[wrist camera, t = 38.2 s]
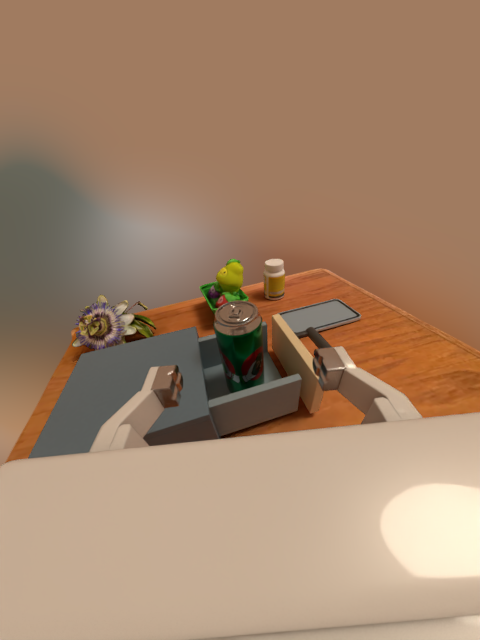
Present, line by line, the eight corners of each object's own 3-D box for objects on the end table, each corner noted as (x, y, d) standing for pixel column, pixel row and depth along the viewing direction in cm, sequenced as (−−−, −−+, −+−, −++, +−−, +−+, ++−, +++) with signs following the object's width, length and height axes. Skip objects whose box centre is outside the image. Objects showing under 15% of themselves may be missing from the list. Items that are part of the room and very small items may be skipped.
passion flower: (126, 374, 40) (53, 355, 32) (133, 333, 48) (75, 309, 40) (161, 346, 37) (88, 316, 29) (163, 306, 44) (106, 273, 36)
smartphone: (363, 316, 38) (292, 336, 35) (362, 320, 38) (292, 340, 36) (337, 298, 44) (274, 313, 41) (336, 301, 44) (274, 317, 41)
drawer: (302, 339, 34) (306, 306, 30) (351, 400, 25) (366, 364, 21) (199, 368, 32) (188, 336, 28) (210, 448, 22) (196, 417, 18)
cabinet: (207, 366, 33) (195, 326, 28) (223, 453, 23) (209, 414, 17) (113, 392, 31) (81, 353, 25) (83, 501, 20) (19, 473, 15)
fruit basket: (203, 304, 48) (191, 259, 42) (236, 294, 51) (231, 250, 44) (216, 331, 40) (205, 279, 33) (256, 318, 42) (254, 267, 35)
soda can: (265, 370, 29) (263, 298, 21) (263, 403, 25) (259, 328, 18) (231, 367, 30) (218, 298, 22) (223, 398, 26) (204, 326, 19)
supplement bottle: (288, 294, 48) (290, 261, 43) (274, 303, 46) (275, 268, 41) (273, 288, 51) (273, 256, 46) (260, 296, 49) (258, 262, 44)
